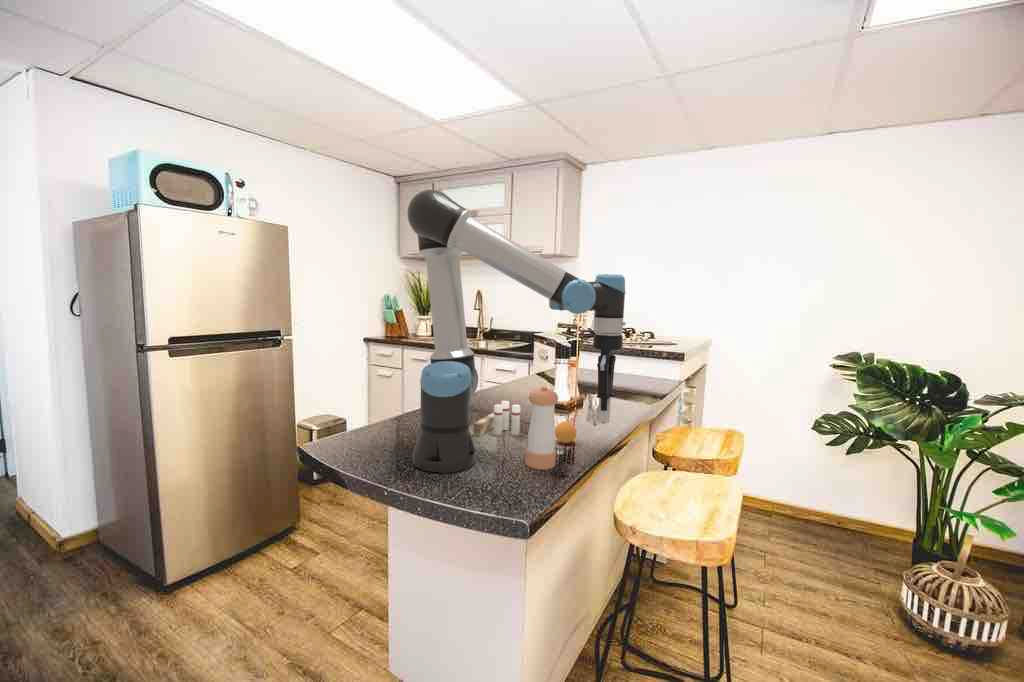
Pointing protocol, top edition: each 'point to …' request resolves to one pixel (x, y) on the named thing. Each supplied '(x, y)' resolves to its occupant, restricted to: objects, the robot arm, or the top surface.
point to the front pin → (515, 420)
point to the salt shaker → (542, 430)
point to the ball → (565, 432)
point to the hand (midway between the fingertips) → (604, 421)
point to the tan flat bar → (483, 425)
